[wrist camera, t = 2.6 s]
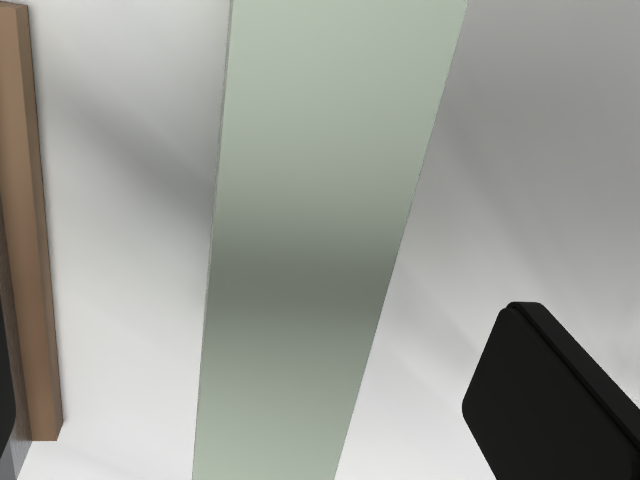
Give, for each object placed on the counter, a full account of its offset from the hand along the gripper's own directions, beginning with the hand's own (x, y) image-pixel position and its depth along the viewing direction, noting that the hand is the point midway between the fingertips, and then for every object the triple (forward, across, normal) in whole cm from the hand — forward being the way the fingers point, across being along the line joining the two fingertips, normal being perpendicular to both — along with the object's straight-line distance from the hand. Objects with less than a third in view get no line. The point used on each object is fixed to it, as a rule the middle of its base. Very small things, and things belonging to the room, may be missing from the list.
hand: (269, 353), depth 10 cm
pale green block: (+11, -1, 0) cm, 11 cm away
